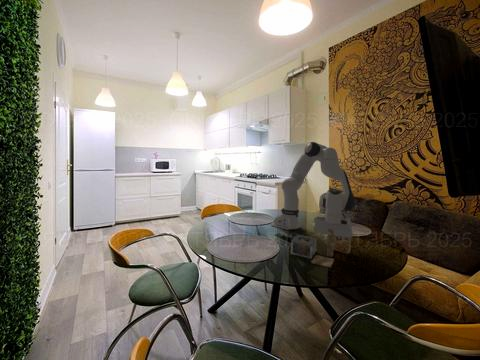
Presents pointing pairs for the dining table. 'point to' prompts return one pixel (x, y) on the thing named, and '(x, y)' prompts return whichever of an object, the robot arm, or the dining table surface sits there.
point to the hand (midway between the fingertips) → (332, 242)
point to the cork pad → (322, 261)
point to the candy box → (342, 247)
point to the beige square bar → (330, 242)
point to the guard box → (297, 241)
